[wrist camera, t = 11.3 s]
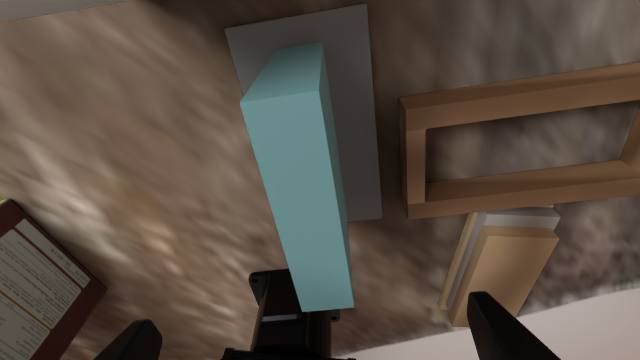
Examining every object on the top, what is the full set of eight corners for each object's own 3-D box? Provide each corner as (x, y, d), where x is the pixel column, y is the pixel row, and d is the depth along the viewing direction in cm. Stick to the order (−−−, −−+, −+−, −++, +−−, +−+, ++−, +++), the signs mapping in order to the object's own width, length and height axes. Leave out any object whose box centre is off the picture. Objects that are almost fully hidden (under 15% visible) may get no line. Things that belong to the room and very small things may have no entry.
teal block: (322, 42, 16) (318, 90, 10) (345, 202, 22) (354, 307, 15) (275, 50, 17) (239, 102, 10) (310, 206, 22) (302, 311, 15)
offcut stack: (436, 299, 28) (447, 331, 25) (471, 193, 22) (490, 222, 20) (494, 301, 28) (511, 334, 25) (545, 196, 22) (574, 224, 20)
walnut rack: (630, 174, 21) (657, 192, 19) (402, 200, 22) (408, 219, 20) (678, 55, 17) (717, 64, 15) (398, 97, 18) (405, 109, 17)
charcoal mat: (381, 213, 23) (382, 218, 22) (282, 224, 23) (282, 229, 23) (365, 2, 16) (366, 3, 15) (226, 27, 16) (224, 29, 16)
